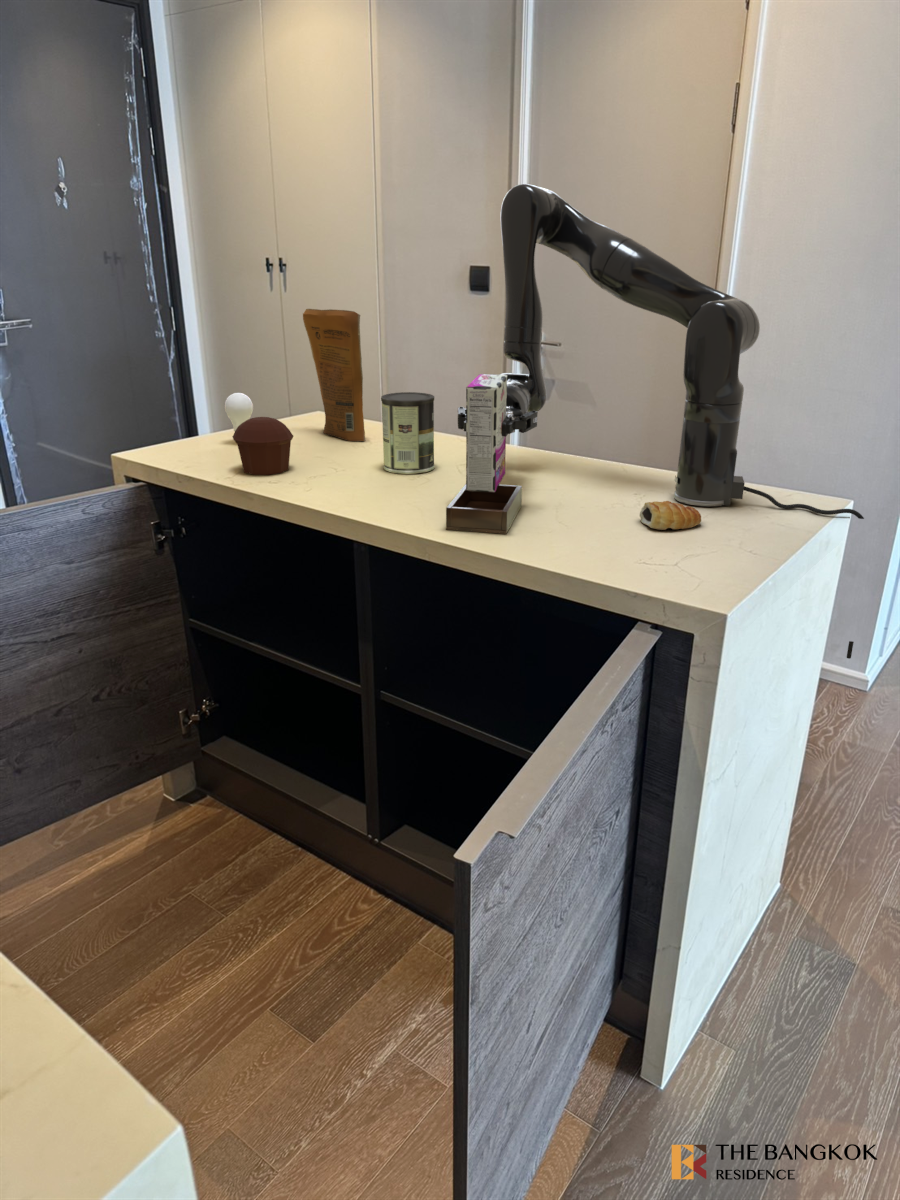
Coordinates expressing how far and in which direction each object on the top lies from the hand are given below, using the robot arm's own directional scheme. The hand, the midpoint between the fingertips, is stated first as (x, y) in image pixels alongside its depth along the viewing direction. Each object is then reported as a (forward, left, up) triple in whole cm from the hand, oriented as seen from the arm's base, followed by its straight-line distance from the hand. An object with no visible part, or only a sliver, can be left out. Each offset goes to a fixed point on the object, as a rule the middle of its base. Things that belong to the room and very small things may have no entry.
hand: (486, 428), depth 136 cm
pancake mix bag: (+44, -54, -15) cm, 71 cm away
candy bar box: (0, 0, -9) cm, 9 cm away
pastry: (-29, -3, -15) cm, 33 cm away
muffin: (+48, -21, -15) cm, 54 cm away
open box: (0, 0, -14) cm, 15 cm away
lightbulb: (+63, -42, -15) cm, 77 cm away
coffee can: (+21, -29, -15) cm, 39 cm away
